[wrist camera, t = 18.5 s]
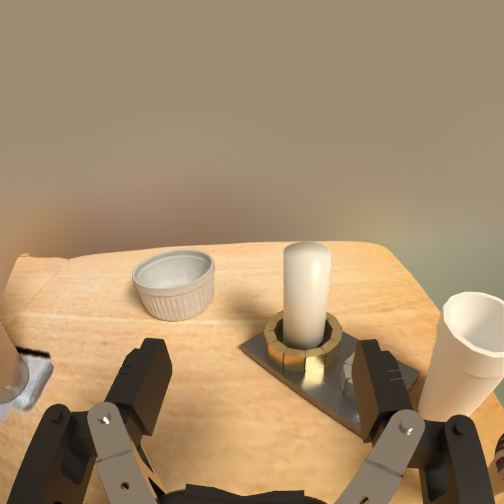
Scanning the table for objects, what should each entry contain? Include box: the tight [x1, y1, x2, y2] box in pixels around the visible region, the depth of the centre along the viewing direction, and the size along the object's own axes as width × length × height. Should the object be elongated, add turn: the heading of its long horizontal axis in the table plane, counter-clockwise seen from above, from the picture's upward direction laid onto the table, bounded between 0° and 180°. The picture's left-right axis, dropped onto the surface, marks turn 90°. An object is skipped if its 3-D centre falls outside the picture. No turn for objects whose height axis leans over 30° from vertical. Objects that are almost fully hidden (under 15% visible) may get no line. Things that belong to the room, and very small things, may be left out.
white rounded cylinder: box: [283, 242, 332, 351], centre depth 34 cm, size 5×5×13 cm
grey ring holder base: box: [242, 310, 420, 438], centre depth 33 cm, size 20×11×4 cm, turn 40°
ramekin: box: [132, 249, 215, 321], centre depth 48 cm, size 13×13×7 cm
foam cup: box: [418, 292, 504, 422], centre depth 22 cm, size 10×9×13 cm
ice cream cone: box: [487, 434, 504, 496], centre depth 11 cm, size 6×6×15 cm
